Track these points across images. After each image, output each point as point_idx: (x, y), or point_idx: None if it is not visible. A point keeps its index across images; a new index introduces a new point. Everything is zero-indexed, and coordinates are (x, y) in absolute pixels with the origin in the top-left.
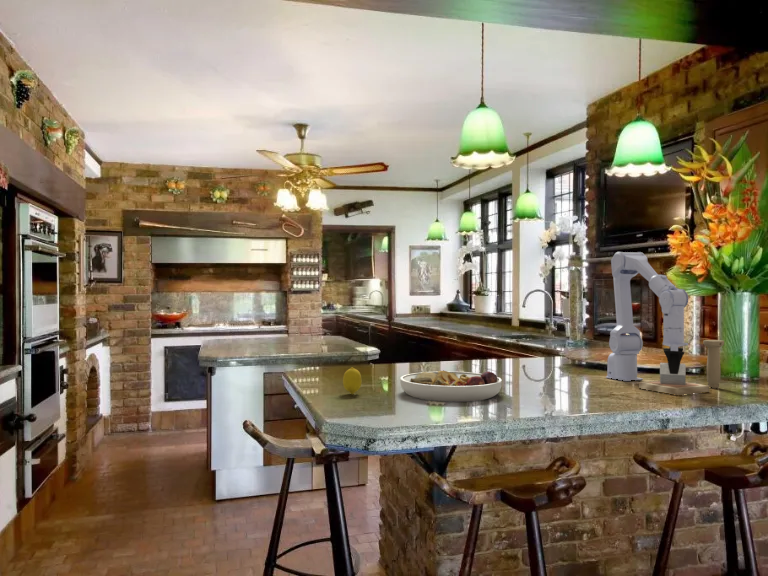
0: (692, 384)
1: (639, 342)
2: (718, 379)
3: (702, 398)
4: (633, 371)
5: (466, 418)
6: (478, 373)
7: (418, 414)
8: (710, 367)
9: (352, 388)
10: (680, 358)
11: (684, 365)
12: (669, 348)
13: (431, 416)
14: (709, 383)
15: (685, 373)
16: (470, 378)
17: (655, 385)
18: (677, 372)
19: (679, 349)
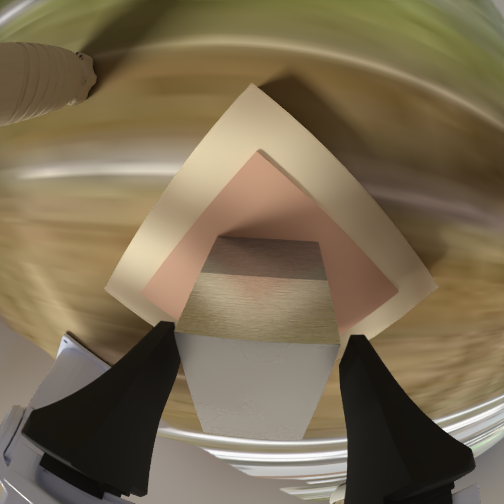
0: (266, 194)
1: (17, 442)
2: (63, 49)
3: (467, 173)
4: (85, 381)
5: (501, 429)
6: (342, 498)
7: (477, 448)
8: (7, 96)
9: None
10: (436, 429)
11: (336, 350)
12: (129, 494)
13: (486, 442)
14: (74, 96)
15: (328, 290)
16: None
17: (337, 359)
18: (369, 345)
19: (94, 469)
